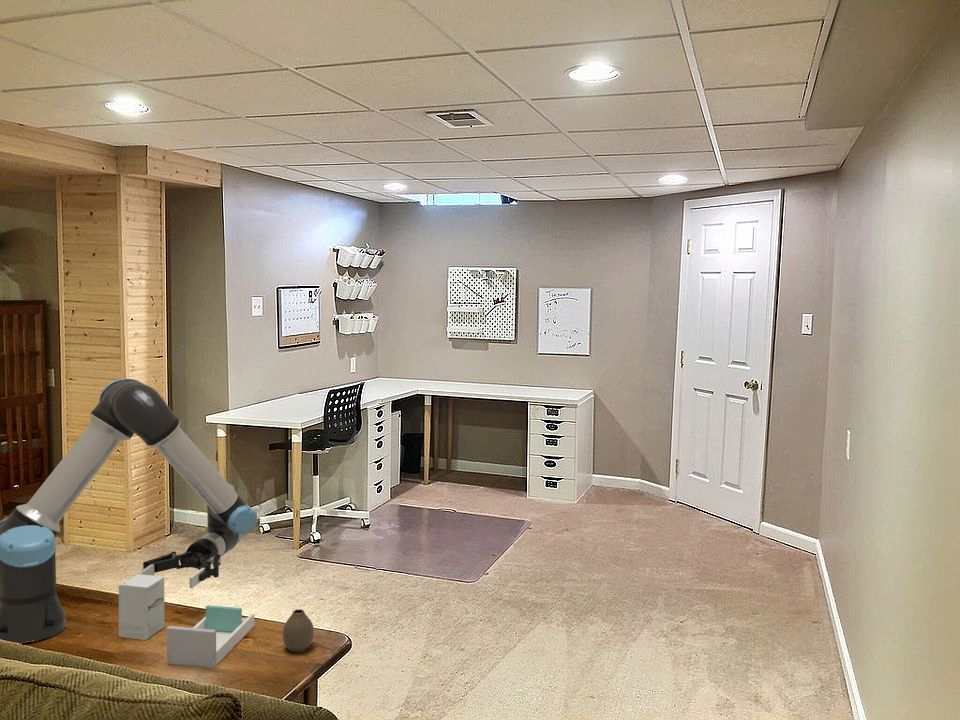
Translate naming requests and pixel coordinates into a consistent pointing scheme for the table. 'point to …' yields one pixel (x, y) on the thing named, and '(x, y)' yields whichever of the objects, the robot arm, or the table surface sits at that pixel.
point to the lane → (203, 643)
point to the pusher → (223, 618)
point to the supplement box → (141, 606)
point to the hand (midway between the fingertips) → (164, 581)
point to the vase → (298, 631)
